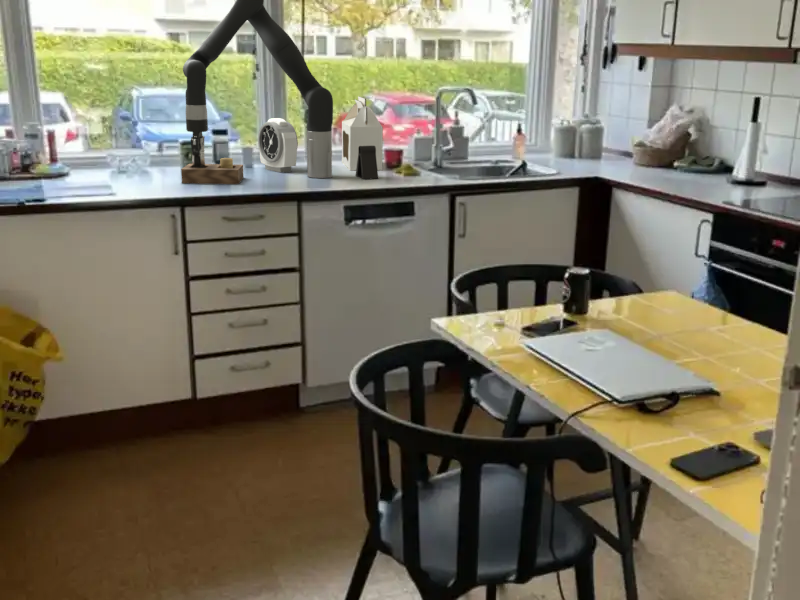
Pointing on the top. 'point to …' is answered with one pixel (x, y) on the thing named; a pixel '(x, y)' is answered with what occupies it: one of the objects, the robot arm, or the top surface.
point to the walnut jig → (214, 173)
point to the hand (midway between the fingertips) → (198, 165)
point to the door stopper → (367, 163)
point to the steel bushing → (201, 159)
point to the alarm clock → (278, 145)
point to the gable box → (360, 134)
